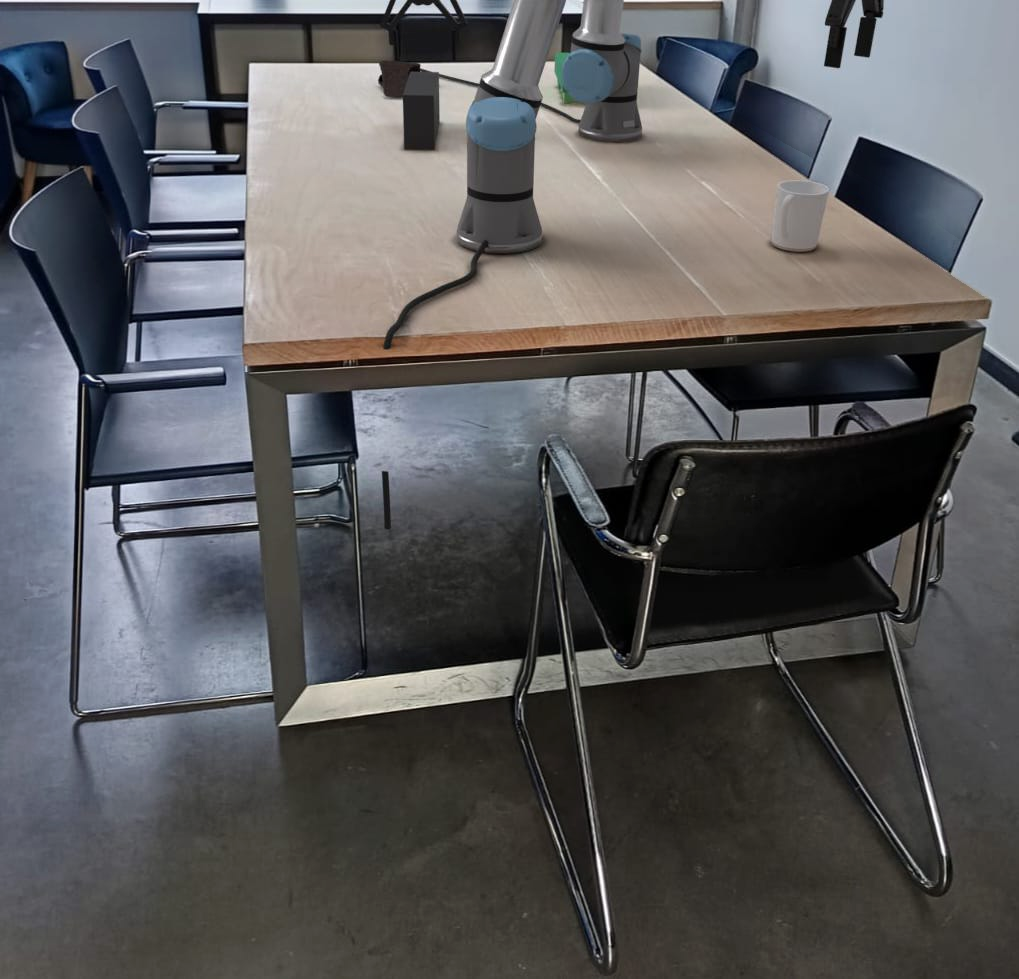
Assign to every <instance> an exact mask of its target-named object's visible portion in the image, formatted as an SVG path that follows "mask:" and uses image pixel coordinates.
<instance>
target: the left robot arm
mask: <svg viewBox="0 0 1019 979" xmlns="http://www.w3.org/2000/svg"><path fill="white" fill-rule="evenodd" d="M856 1H857V0H831V2H830V5H829V8H828V9H827V10H828V11H827V13H826V17H825V21H824V26H825V27H829V31H828V38H827V43H826V50H825V56H824V62H823V67H826V68H833V69H840V68H841V66H842V60H843V54H844V48H845V43H846V36H847V31H848V27H847V26H846V24H847V22H848V20H849V18H850V14H851V13H852V10H853V8H854V6H855V3H856ZM566 2H567V0H513V2H512V5H511V7H510V11H509V15H508V17H507V21H506V24H505V28H504V31H503V34H502V37H501V40H500V44H499V47H498V50H497V53H496V57H495V59H494V63H493V66H492V68H491V69H490V70H488V71H486V72H485V73H483V74H481V76H480V78H479V79H480V80H479V82H478V84H479V86H477V89H476V93H475V96H474V99H473V100H472V103H471V105H470V106H469V107H468V110H467V113H466V114H467V115H466V120H465V121H466V122H465V130H466V192H467V193H466V198H465V202H464V205H463V209H462V211H461V214H460V218H459V220H458V224H457V228H456V241H457V243H458V244H459V245H461V246H462V247H464V248H466V249H468V250H470V251H475V253H474V254H473V257H472V258H471V260H470V271H469V272H468V273H467V274H466V275H464V276H462V277H460V278H458V279H455V280H452V281H450V282H447V283H445V284H443V285H440V286H437V287H436V288H434V289H432V290H429V291H426V292H425V293H423V294H421V295H419V296H417V297H415V298H414V299H412V300H411V301H409V302H408V303H407V304H406V305H405V306H404V307H403V309H402V310H401V312H400V313H399V316H398V318H397V319H396V321H395V323H394V324H392V325H391V326H390V327H389V329H388V330H387V331H386V334H385V338H384V341H383V345H382V346H383V347H382V349H383V350H385V351H386V350H390V349H391V346H392V342H393V339H394V335H395V333H396V332H398V331H399V330H400V328H401V327H402V326H403V324H404V322H405V320H406V318H407V316H408V315H409V313H410V311H412V310H413V309H414V308H415V307H416V306H418V305H420V304H421V303H423V302H425V301H427V300H429V299H431V298H434V297H436V296H438V295H440V294H442V293H445V292H446V291H450V290H451V289H454V288H456V287H457V288H458V287H460V286H461V285H465V284H466V283H468V282H470V281H471V280H472V279H473V278H474V277H475V276H476V275H477V273H478V272H477V271H478V269H477V268H478V266H477V265H478V261H479V260H480V257H481V256H482V255H483V253H486V254H497V255H499V254H500V255H506V254H507V255H508V254H517V253H524V252H527V251H530V250H533V249H536V248H538V247H539V246H540V245H541V244H542V243H543V229H542V224H541V221H540V220H541V219H540V218H539V214H538V213H539V212H538V210H537V206H536V204H535V199H534V183H535V181H534V180H535V148H536V147H535V146H536V133H537V128H538V127H537V121H536V120H537V117H538V114H539V111H540V109H541V108H540V107H541V106H540V105H541V102H542V103H543V99H544V96H543V94H542V91H541V90H540V87H539V84H540V81H541V78H542V74H543V72H544V68H545V66H546V63H547V59H548V57H549V54H550V51H551V47H552V45H553V41H554V38H555V36H556V33H557V30H558V26H559V24H560V20H561V17H562V14H563V11H564V8H565V6H566ZM884 3H885V0H861V6H862V14H863V16H861V17H860V19H859V24H858V30H857V36H856V42H855V48H854V52H853V53H854V54H853V56H854V57H861V58H866V59H867V58H868V59H869V58H870V57H871V53H872V47H873V43H874V42H873V41H874V37H875V31H876V25H877V20H878V19H882V18H883V16H884V8H885V6H884V5H885V4H884ZM845 26H846V27H845ZM381 483H382V500H383V502H382V503H383V518H384V519H383V523H384V526H383V527H384V530H386V531H387V530H391V529H392V520H391V518H392V516H391V493H390V476H389V471H388V470H381Z"/></svg>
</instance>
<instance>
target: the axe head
mask: <svg viewBox="0 0 1019 979" xmlns="http://www.w3.org/2000/svg"><path fill="white" fill-rule="evenodd" d="M378 66H379V68H380V72H381V74H379V75H378V79H377V84H378V85H379V86H380V87H381V88H382V89H383V95H384V96H385V97H388V98H394V99H395V98H396V99H403V93H404V90H405V87H406V84H407V81H408V78H409V75H410V72H421V71H420V68H421V63H419V62H410V61H408V62H407V61H399V60H398V61H395V60H388V59H387V60H380V61H379V62H378Z"/></svg>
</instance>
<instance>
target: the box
mask: <svg viewBox="0 0 1019 979" xmlns="http://www.w3.org/2000/svg"><path fill="white" fill-rule="evenodd" d="M439 74H440V72H439V71H431V72H421V71H420V72H410V75H409V78H408V81H407V84H406V87H405V90H404V93H403V98H402V115H403V116H402V122H403V123H402V124H403V149H404V150H406V151H407V150H408V151H409V150H410V151H418V150H419V151H435V149H436V144H437V139H438V135H439V134H438V133H439V128H440V123H441V122H440V121H441V119H440V117H441V116H440V115H441V114H440V77H439Z"/></svg>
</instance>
